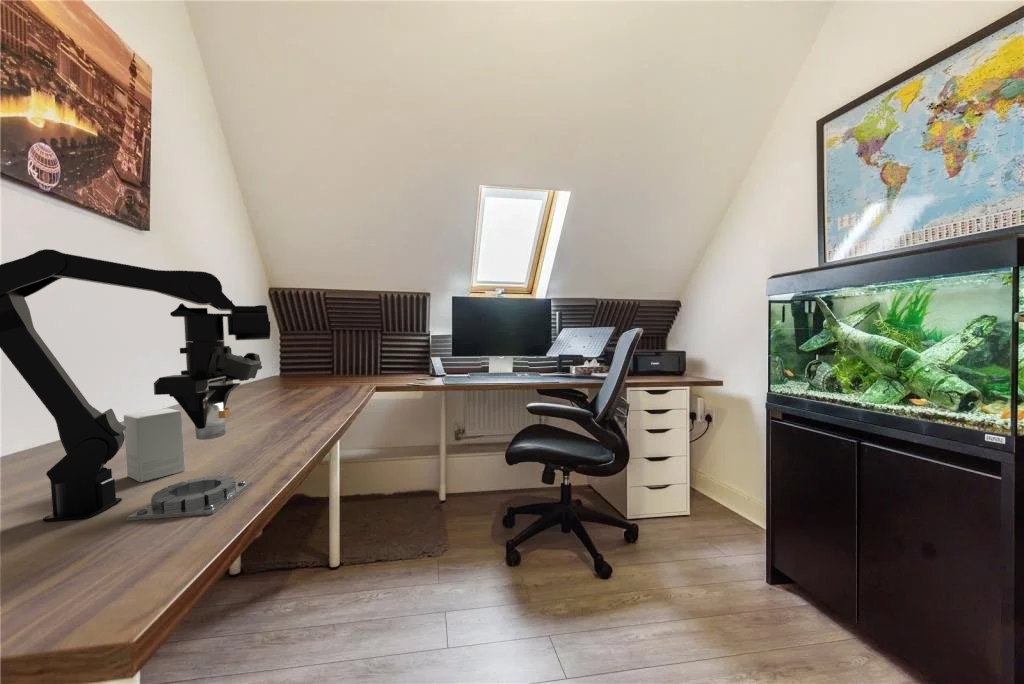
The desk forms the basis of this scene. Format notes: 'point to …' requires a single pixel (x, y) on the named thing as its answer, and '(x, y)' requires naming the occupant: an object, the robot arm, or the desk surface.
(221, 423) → the silver metal cylinder
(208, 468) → the desk surface
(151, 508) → the duct flange
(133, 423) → the supplement box
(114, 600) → the desk surface
